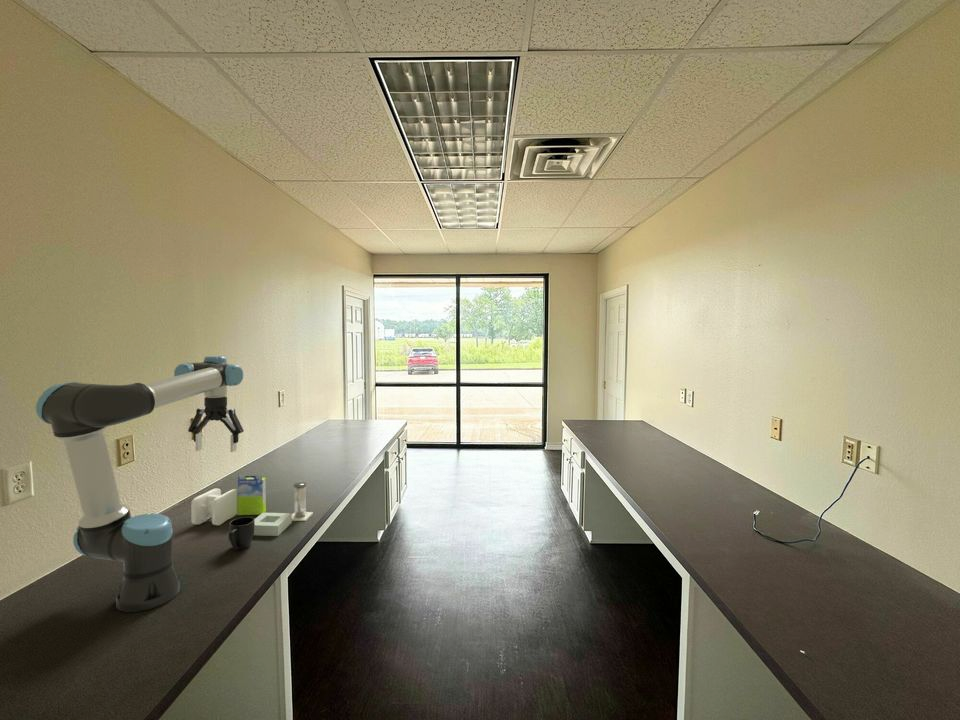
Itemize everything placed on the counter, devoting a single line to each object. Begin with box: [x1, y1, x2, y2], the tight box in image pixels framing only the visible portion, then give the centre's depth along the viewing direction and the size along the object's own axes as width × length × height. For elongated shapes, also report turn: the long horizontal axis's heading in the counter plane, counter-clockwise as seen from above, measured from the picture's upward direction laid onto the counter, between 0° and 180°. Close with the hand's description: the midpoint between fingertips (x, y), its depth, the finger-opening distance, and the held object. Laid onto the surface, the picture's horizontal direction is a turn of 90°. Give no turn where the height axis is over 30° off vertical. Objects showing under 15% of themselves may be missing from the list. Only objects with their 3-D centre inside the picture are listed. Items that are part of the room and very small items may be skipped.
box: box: [237, 475, 267, 516], centre depth 192 cm, size 10×4×17 cm, turn 97°
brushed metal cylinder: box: [293, 481, 307, 518], centre depth 189 cm, size 5×5×14 cm
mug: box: [228, 516, 255, 551], centre depth 161 cm, size 8×12×10 cm
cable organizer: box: [190, 488, 238, 526], centre depth 184 cm, size 15×11×12 cm
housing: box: [253, 512, 293, 537], centre depth 178 cm, size 12×12×4 cm
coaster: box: [292, 511, 314, 522], centre depth 190 cm, size 8×8×1 cm
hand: (216, 450), depth 171 cm, fingers open, 13 cm apart
